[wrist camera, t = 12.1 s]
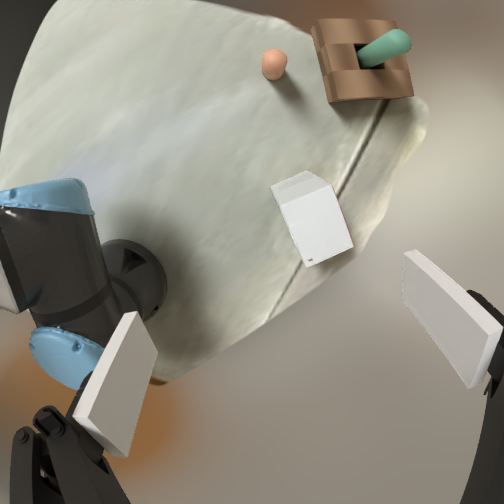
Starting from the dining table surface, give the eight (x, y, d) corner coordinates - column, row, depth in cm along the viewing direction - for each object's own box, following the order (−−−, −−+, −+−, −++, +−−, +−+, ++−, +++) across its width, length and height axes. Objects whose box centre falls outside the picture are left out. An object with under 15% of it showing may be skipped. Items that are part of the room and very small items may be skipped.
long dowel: (350, 72, 35) (391, 52, 23) (345, 54, 34) (385, 27, 21) (367, 72, 35) (414, 53, 22) (363, 54, 34) (407, 30, 21)
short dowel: (267, 83, 36) (268, 74, 30) (258, 65, 35) (257, 54, 29) (286, 75, 36) (291, 65, 29) (277, 58, 35) (280, 45, 28)
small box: (327, 216, 44) (355, 248, 32) (290, 232, 45) (305, 270, 33) (307, 168, 41) (332, 183, 29) (268, 185, 42) (277, 207, 30)
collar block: (328, 102, 37) (338, 99, 33) (310, 30, 33) (318, 19, 28) (398, 98, 37) (414, 96, 32) (381, 30, 32) (395, 21, 27)
